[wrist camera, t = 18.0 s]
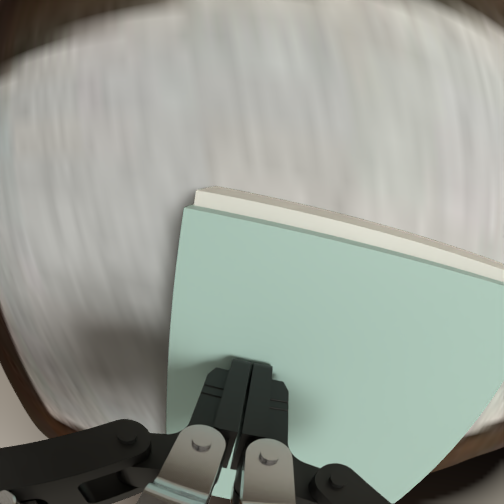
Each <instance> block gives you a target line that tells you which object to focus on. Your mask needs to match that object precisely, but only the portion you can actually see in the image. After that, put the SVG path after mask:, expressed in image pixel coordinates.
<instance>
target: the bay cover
mask: <svg viewBox="0 0 504 504" xmlns="http://www.w3.org/2000/svg"><path fill="white" fill-rule="evenodd" d="M233 358H235V359H240V360H244V361H249V362H251V367H250V372H249V378H250V375H251V371H252V367H253V364H254V363H258V364H263V365H268V366H272V367H273V370H272V380H278V381H283V382H284V384H285V385H286V387H287V389H288V391H289V402H288V404H289V409H288V446H289V449H290V451H291V453H292V454H293V455H294V456H295V457H296V458H297V459H299V460H300V461H302V462H304V463H307V464H310V465H313V466H315V467H318V468H321V467H323V466H325V465H327V464H332V463H338V464H343V465H346V466H348V467H350V468H351V469H352V470H353V471H355V472H356V473H357V474H358V475H359V476H360V477H361V478H362V479H363V480H365V481H366V482H367V483H368V484H369V485H370V486H371V487H373V488H374V489H375V490H376V491H377V492H378V493H380V494H381V495H382V496H383V497H384V498H385V499H387V500H388V501H389V502H390V503H395V502H396V501H398V500H399V499H400V498H401V497H403V496H404V495H405V494H406V493H407V492H409V491H410V490H411V489H412V488H413V487H414V486H415V485H416V484H418V483H419V482H420V481H421V480H422V479H423V478H424V477H425V476H426V475H427V474H428V473H429V472H430V471H432V470H433V469H434V468H435V467H436V466H437V465H438V464H439V463H440V461H441V460H442V459H443V458H444V457H445V456H446V455H447V454H448V453H449V452H450V451H451V450H452V449H453V448H454V446H455V445H456V444H457V443H458V442H459V441H460V440H461V438H462V437H463V436H464V435H465V434H466V432H467V431H468V430H469V429H470V427H471V426H472V425H473V424H474V422H475V421H476V420H477V419H478V417H479V416H480V415H481V413H482V412H483V411H484V409H485V408H486V406H487V405H488V404H489V402H490V401H491V399H492V398H493V396H494V395H495V393H496V392H497V390H498V389H499V387H500V386H501V384H502V383H503V381H504V282H501V281H498V280H494V279H491V278H488V277H485V276H481V275H478V274H475V273H471V272H468V271H464V270H461V269H457V268H454V267H451V266H447V265H443V264H440V263H436V262H433V261H429V260H426V259H422V258H418V257H415V256H411V255H407V254H403V253H400V252H396V251H392V250H388V249H384V248H380V247H377V246H373V245H369V244H365V243H361V242H357V241H353V240H349V239H345V238H341V237H336V236H332V235H328V234H324V233H320V232H316V231H311V230H307V229H303V228H298V227H294V226H290V225H285V224H281V223H276V222H272V221H267V220H263V219H258V218H253V217H249V216H244V215H239V214H234V213H230V212H225V211H220V210H215V209H210V208H205V207H200V206H195V205H190V206H187V207H184V211H183V218H182V225H181V232H180V239H179V247H178V255H177V263H176V272H175V281H174V290H173V301H172V312H171V324H170V338H169V354H168V374H167V407H166V434H173V433H177V432H179V431H181V430H183V429H184V428H185V427H186V426H187V425H188V424H189V422H190V419H191V417H192V414H193V411H194V409H195V406H196V403H197V401H198V398H199V396H200V394H201V390H202V388H203V386H204V382H205V380H206V377H207V374H208V373H210V372H211V371H212V370H213V369H215V368H216V367H217V368H221V369H225V370H230V366H231V362H232V359H233ZM249 378H248V382H249ZM247 386H248V383H247ZM246 389H247V388H246ZM235 442H236V441H235ZM234 447H235V444H234ZM234 447H233V450H232V453H231V457H230V460H229V463H228V466H227V468H222V469H221V473H220V476H219V479H218V482H217V483H216V484H215V486H214V489H213V492H212V495H213V496H218V497H223V498H228V499H231V490H232V486H233V483H234V480H235V475H236V470H233V469H230V466H231V461H232V457H233V452H234Z"/></svg>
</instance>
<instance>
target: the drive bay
mask: <svg viewBox="0 0 504 504" xmlns="http://www.w3.org/2000/svg"><path fill="white" fill-rule="evenodd" d="M194 205H195V206H200V207H205V208H210V209H215V210H220V211H225V212H230V213H234V214H239V215H244V216H249V217H253V218H258V219H263V220H267V221H272V222H276V223H281V224H285V225H290V226H294V227H298V228H303V229H307V230H311V231H316V232H320V233H324V234H328V235H332V236H336V237H341V238H345V239H349V240H353V241H357V242H361V243H365V244H369V245H373V246H377V247H380V248H384V249H388V250H392V251H396V252H400V253H403V254H407V255H411V256H415V257H418V258H422V259H426V260H429V261H433V262H436V263H440V264H443V265H447V266H451V267H454V268H457V269H461V270H464V271H468V272H471V273H475V274H478V275H481V276H485V277H488V278H491V279H494V280H498V281H501V282H504V264H502V263H500V262H497V261H494V260H492V259H489V258H486V257H483V256H480V255H477V254H475V253H472V252H469V251H466V250H463V249H460V248H457V247H454V246H451V245H448V244H445V243H442V242H438V241H435V240H432V239H429V238H426V237H422V236H419V235H416V234H412V233H409V232H406V231H402V230H399V229H395V228H392V227H388V226H385V225H381V224H378V223H374V222H370V221H367V220H363V219H359V218H356V217H352V216H348V215H344V214H340V213H336V212H332V211H328V210H324V209H320V208H316V207H312V206H308V205H303V204H299V203H295V202H290V201H286V200H281V199H277V198H272V197H268V196H263V195H258V194H253V193H249V192H244V191H239V190H234V189H228V188H223V187H218V186H213V187H208V188H203V189H199V190H196V194H195V200H194Z"/></svg>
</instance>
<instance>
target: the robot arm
mask: <svg viewBox="0 0 504 504" xmlns="http://www.w3.org/2000/svg"><path fill="white" fill-rule="evenodd" d="M250 367H251V362H249V361H244V360H240V359H235V358H233V359H232V362H231V366H230V370H225V369H221V368H217V367H216V368H215V369H213V370H212V371H211V372H210V373H208V374H207V377H206V380H205V382H204V386H203V388H202V390H201V394H200V396H199V398H198V401H197V403H196V406H195V409H194V411H193V414H192V417H191V419H190V422H189V424H188V425H187V426H186V427H185V428H184V429H183V430H181V431H179V432H177V433H173V434H155V433H149V432H148V430H147V429H146V428H145V427H144V426H143V425H142V424H140V423H138V422H136V421H133V420H128V419H121V420H116V421H113V422H110V423H107V424H103V425H100V426H97V427H93V428H90V429H86V430H83V431H79V432H75V433H72V434H68V435H64V436H60V437H56V438H51V439H47V440H42V441H38V442H33V443H28V444H23V445H17V446H12V447H5V448H0V504H112V503H115V502H118V501H120V500H123V499H126V498H129V497H131V496H134V495H136V494H139V493H141V492H142V494H141V496H140V498H139V500H138V501H137V503H136V504H208V503H209V500H210V497H211V495H212V492H213V489H214V486H215V484H216V483H217V482H218V479H219V476H220V473H221V469H222V468H227V466H228V463H229V460H230V457H231V453H232V450H233V447H234V444H235V447H234V452H233V457H232V461H231V466H230V469H233V470H236V475H235V480H234V483H233V486H232V490H231V500H230V504H391V503H390V502H389V501H388V500H387V499H385V498H384V497H383V496H382V495H381V494H380V493H378V492H377V491H376V490H375V489H374V488H373V487H371V486H370V485H369V484H368V483H367V482H366V481H365V480H363V479H362V478H361V477H360V476H359V475H358V474H357V473H356V472H355V471H353V470H352V469H351V468H350V467H348V466H346V465H343V464H338V463H332V464H327V465H325V466H323V467H321V468H318V467H315V466H313V465H310V464H307V463H304V462H302V461H300V460H299V459H297V458H296V457H295V456H294V455H293V454H292V453H291V451H290V449H289V446H288V409H289V404H288V402H289V391H288V389H287V387H286V385H285V384H284V382H283V381H278V380H272V370H273V367H272V366H268V365H263V364H258V363H254V364H253V367H252V371H251V375H250V378H249V372H250ZM248 378H249V382H248ZM247 383H248V386H247ZM246 388H247V389H246ZM235 441H236V442H235Z"/></svg>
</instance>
